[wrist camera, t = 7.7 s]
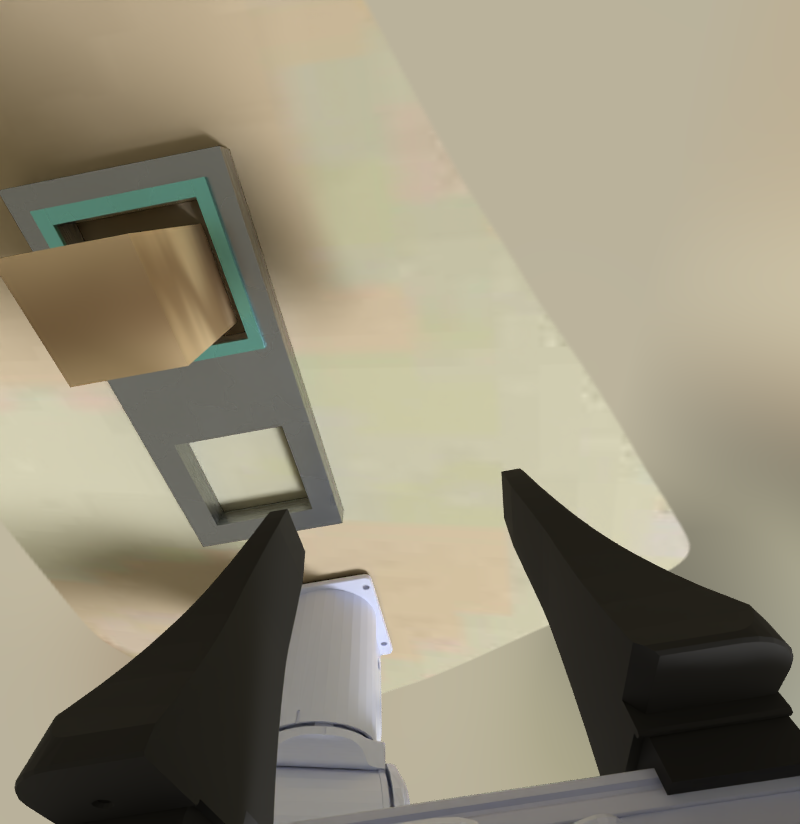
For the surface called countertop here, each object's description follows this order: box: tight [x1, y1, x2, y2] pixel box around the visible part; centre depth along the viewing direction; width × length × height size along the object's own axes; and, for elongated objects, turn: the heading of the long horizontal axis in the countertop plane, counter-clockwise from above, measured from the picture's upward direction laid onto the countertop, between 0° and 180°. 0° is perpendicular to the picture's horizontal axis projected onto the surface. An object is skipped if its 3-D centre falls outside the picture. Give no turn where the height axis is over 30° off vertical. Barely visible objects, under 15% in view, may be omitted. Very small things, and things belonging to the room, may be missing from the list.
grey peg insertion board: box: [0, 146, 344, 547], centre depth 21 cm, size 20×9×1 cm, turn 10°
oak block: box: [0, 224, 237, 387], centre depth 16 cm, size 4×4×6 cm
